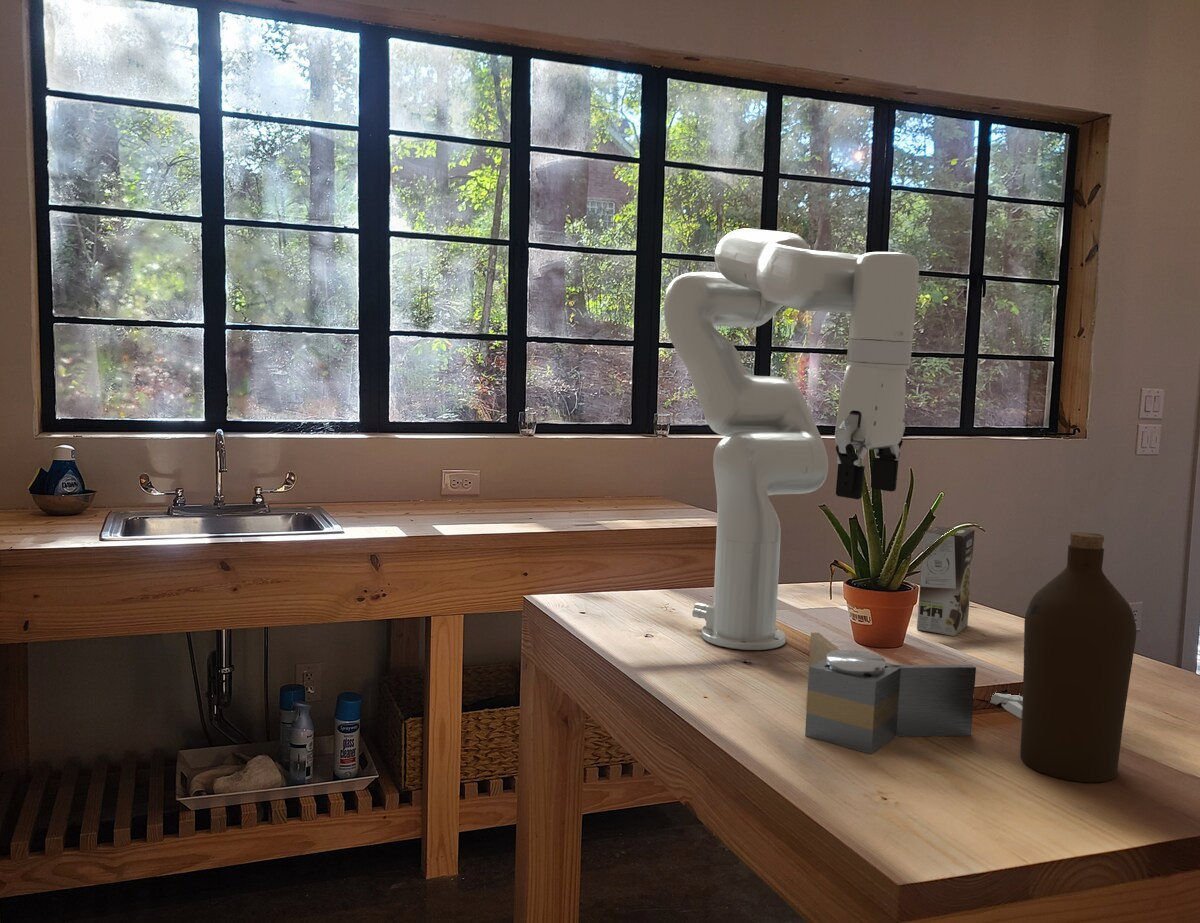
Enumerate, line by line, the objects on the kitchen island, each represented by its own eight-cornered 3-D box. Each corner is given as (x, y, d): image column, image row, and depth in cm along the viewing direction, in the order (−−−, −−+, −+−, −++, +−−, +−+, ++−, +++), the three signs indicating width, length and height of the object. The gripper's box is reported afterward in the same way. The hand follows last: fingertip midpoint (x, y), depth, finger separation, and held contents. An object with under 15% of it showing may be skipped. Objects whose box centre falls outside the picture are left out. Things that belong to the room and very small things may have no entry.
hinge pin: (812, 731, 112) (817, 658, 111) (836, 717, 117) (841, 646, 116) (867, 746, 108) (871, 670, 107) (889, 730, 113) (894, 657, 112)
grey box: (755, 721, 116) (758, 654, 115) (809, 692, 127) (813, 631, 126) (929, 770, 103) (934, 695, 103) (972, 733, 115) (978, 666, 114)
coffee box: (956, 637, 157) (964, 536, 155) (915, 630, 160) (922, 531, 159) (969, 625, 164) (976, 529, 163) (929, 619, 168) (936, 524, 166)
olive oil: (1084, 794, 99) (1106, 546, 97) (993, 756, 108) (1010, 528, 105) (1144, 774, 105) (1166, 539, 102) (1052, 740, 114) (1070, 523, 111)
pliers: (996, 669, 136) (1070, 707, 122) (995, 680, 136) (1069, 719, 122) (930, 671, 134) (998, 710, 119) (930, 683, 134) (997, 723, 119)
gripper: (880, 354, 131) (868, 483, 133) (817, 353, 117) (805, 496, 120) (936, 358, 126) (922, 491, 128) (877, 357, 113) (863, 505, 115)
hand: (866, 493), depth 124 cm, fingers open, 9 cm apart
